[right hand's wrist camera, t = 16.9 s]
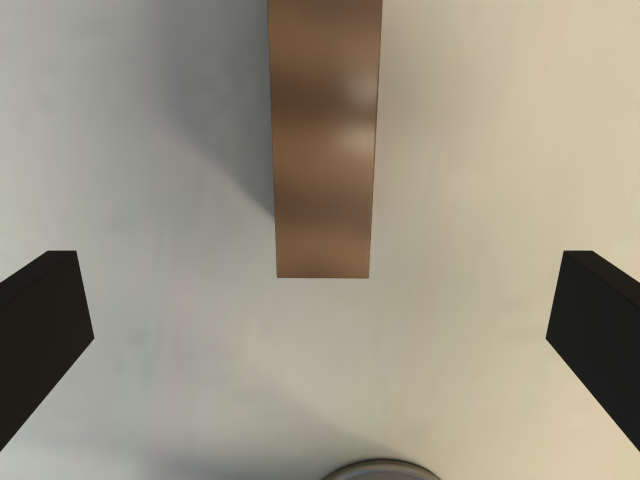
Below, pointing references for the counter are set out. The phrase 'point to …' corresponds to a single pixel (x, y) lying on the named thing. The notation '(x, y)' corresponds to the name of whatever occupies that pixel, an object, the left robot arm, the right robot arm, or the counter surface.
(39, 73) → the counter surface
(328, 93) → the post
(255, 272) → the counter surface
